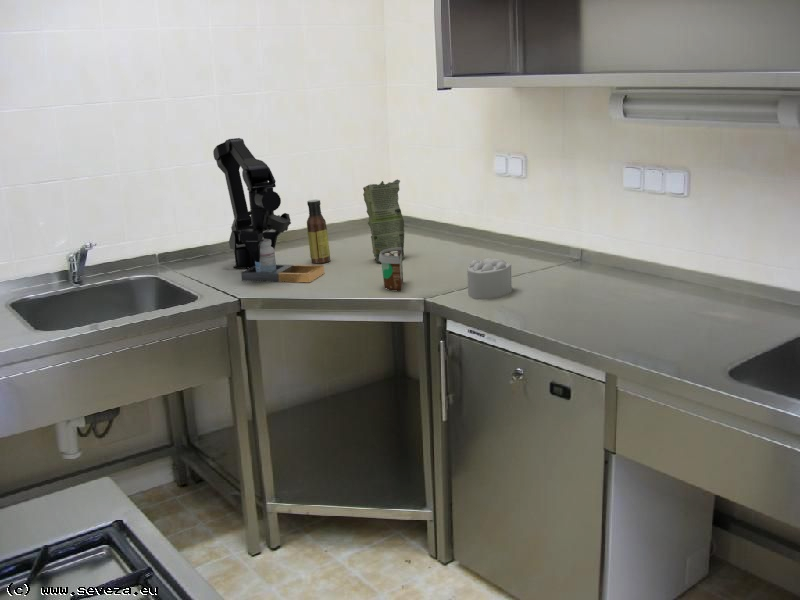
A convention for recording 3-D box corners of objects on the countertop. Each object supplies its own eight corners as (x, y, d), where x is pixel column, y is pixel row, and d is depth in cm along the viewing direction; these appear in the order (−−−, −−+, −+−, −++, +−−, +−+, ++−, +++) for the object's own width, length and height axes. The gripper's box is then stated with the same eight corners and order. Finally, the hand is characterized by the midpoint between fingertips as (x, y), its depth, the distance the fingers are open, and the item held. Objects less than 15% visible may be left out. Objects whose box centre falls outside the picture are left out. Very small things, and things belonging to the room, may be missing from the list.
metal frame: (241, 280, 251) (240, 272, 251) (258, 271, 261) (257, 263, 261) (309, 282, 245) (308, 274, 244) (324, 273, 255) (323, 265, 254)
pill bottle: (257, 275, 257) (253, 239, 254) (277, 273, 258) (273, 237, 255) (256, 279, 251) (252, 243, 248) (276, 278, 252) (273, 241, 249)
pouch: (366, 264, 263) (361, 184, 257) (373, 255, 275) (368, 178, 268) (401, 263, 262) (397, 183, 255) (407, 255, 273) (403, 177, 266)
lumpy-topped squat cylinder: (516, 288, 227) (515, 257, 224) (495, 301, 216) (494, 268, 214) (481, 285, 232) (480, 254, 230) (459, 297, 221) (458, 265, 219)
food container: (382, 281, 241) (380, 247, 239) (403, 280, 241) (401, 246, 238) (378, 293, 230) (376, 257, 227) (401, 292, 229) (399, 256, 226)
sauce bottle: (332, 259, 273) (327, 198, 267) (328, 263, 267) (323, 201, 261) (312, 260, 273) (307, 199, 268) (308, 264, 267) (302, 202, 262)
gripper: (270, 212, 238) (275, 266, 242) (297, 201, 255) (302, 252, 259) (235, 212, 241) (240, 265, 246) (264, 201, 258) (269, 251, 263)
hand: (264, 258), depth 253 cm, fingers open, 9 cm apart
